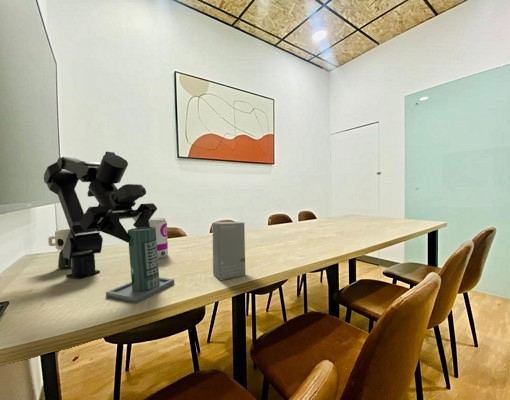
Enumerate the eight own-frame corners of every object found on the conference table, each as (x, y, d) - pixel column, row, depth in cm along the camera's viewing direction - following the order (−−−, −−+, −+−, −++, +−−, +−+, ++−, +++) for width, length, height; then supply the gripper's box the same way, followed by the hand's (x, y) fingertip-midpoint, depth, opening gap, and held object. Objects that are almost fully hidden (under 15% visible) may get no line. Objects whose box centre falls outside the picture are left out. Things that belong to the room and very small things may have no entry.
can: (145, 281, 63) (141, 226, 62) (164, 282, 61) (159, 226, 61) (127, 290, 57) (122, 230, 57) (146, 292, 55) (142, 230, 55)
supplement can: (171, 253, 96) (170, 217, 96) (161, 259, 88) (160, 220, 87) (152, 253, 97) (151, 218, 96) (141, 259, 89) (139, 220, 88)
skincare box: (219, 281, 64) (218, 224, 63) (212, 273, 70) (210, 221, 70) (247, 275, 68) (245, 221, 67) (237, 269, 74) (236, 219, 74)
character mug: (45, 272, 76) (43, 232, 75) (53, 266, 82) (51, 230, 82) (86, 267, 80) (84, 229, 80) (90, 262, 87) (89, 227, 86)
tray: (106, 297, 55) (105, 292, 55) (146, 279, 66) (146, 275, 66) (136, 303, 52) (136, 298, 52) (174, 283, 63) (174, 279, 63)
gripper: (85, 171, 52) (123, 221, 48) (151, 176, 69) (182, 213, 65) (65, 206, 55) (98, 255, 51) (132, 202, 72) (161, 239, 68)
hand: (140, 238), depth 59 cm, fingers closed on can, 6 cm apart
